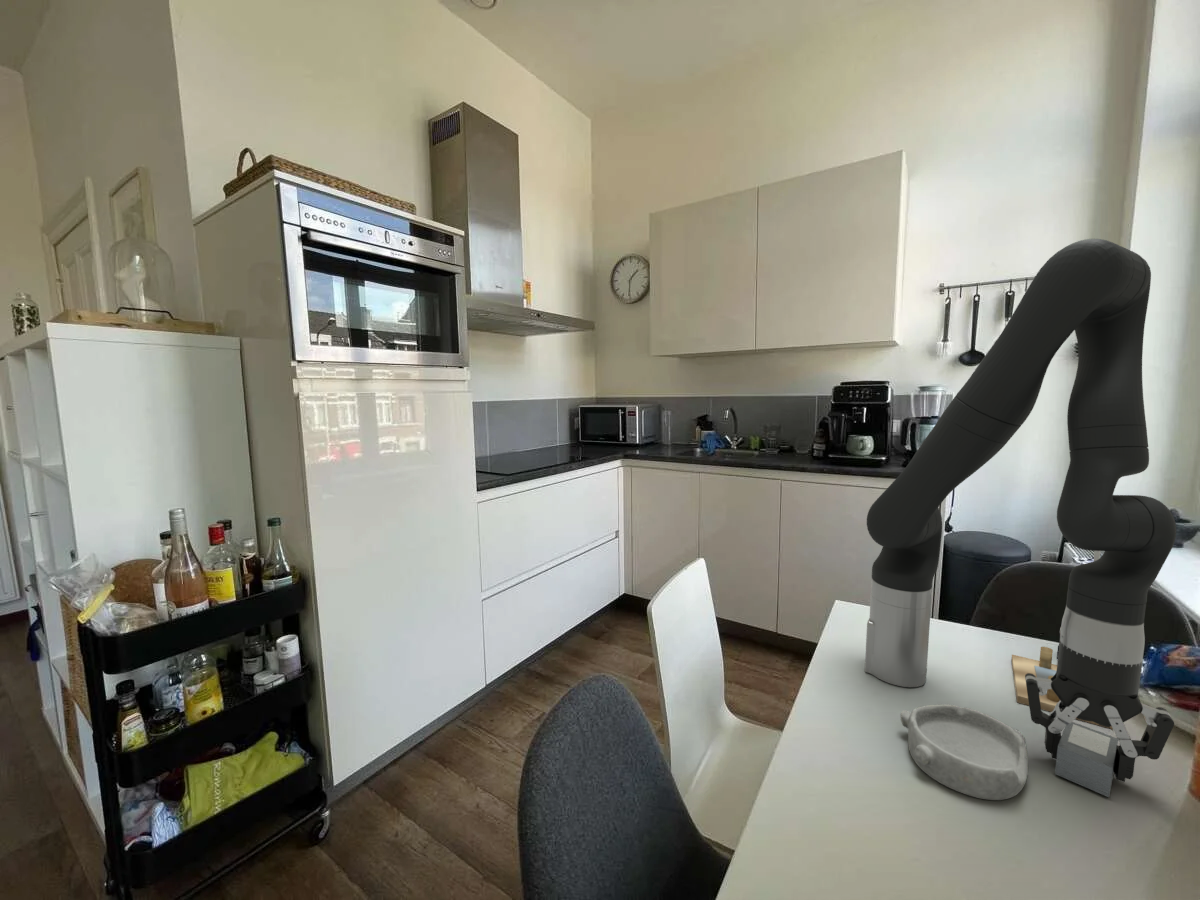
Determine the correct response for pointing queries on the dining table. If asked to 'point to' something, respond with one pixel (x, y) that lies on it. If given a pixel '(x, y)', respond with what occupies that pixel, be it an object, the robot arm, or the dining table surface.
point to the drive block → (1087, 757)
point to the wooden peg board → (1040, 670)
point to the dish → (967, 750)
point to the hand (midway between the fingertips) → (1086, 765)
